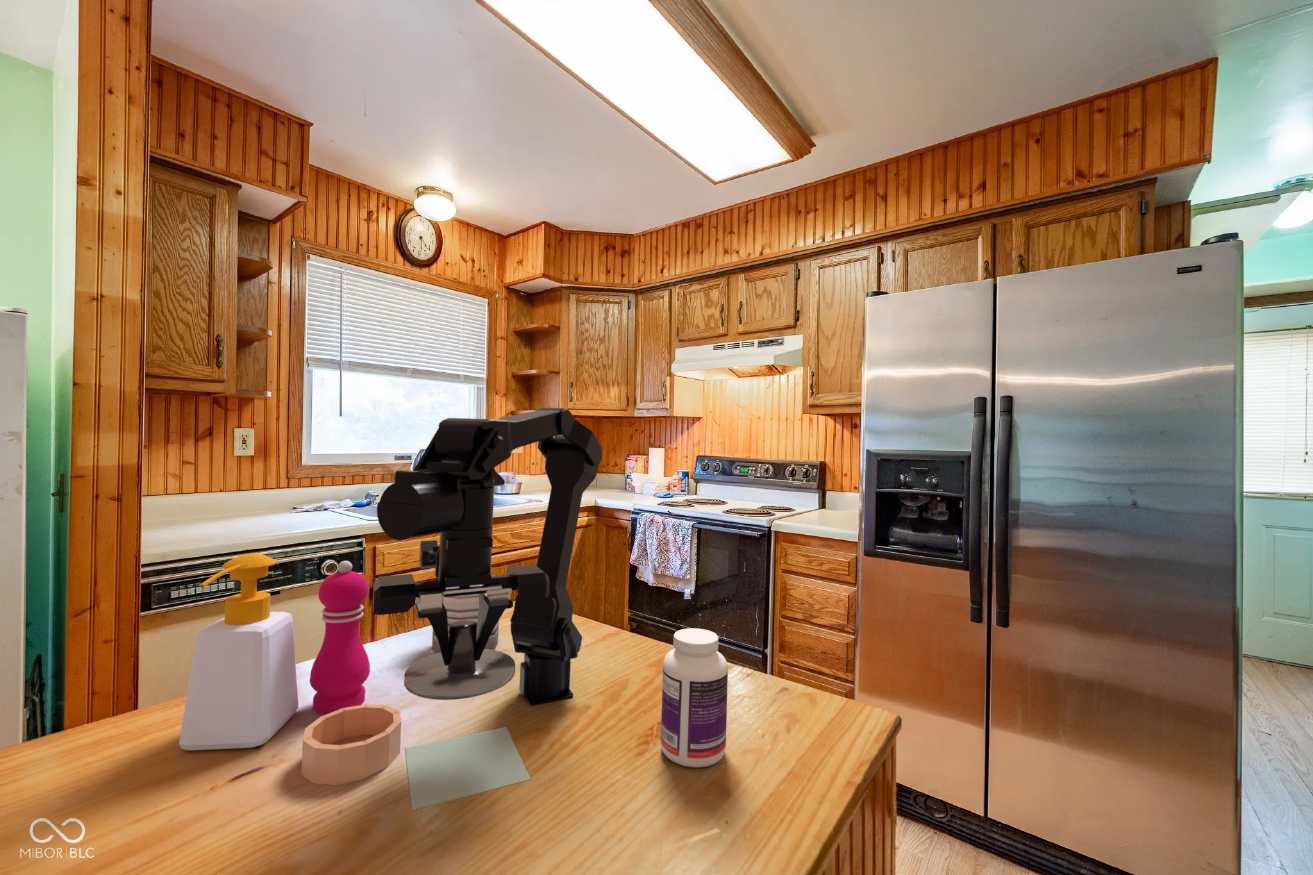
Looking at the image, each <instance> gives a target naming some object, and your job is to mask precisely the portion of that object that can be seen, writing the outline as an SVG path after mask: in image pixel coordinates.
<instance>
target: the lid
mask: <svg viewBox="0 0 1313 875" xmlns="http://www.w3.org/2000/svg"><path fill="white" fill-rule="evenodd" d="M476 635H477V623H476V622H474V621H469V620H464V621H457V622H453V623H451V624H450V625H449V651H450V656H449V665H446V666H445V664H444V661H443V658H442V655H441V652H440V653H436V654H434V653H432V654H429V655H427V656H424V657H422V658H421V659H418V660H416V661H415V662H412V664H410V665H409V666H408V667H407V669H406V670H405V672H404V677H403V686H404V688H405V689H406V690H407V692H409V693H410V694H412V695H414V696H417V697H419V698H424V699H429V700H439V701H440V700H441V701H449V700H450V701H451V700H463V699H470V698H474V697H475V698H476V697H478V696H482V695H486V694H489V693H492V692H494V691H497V690H498V689H501V688H503V687H504V686H506V685H507V684H508V683H510V681H512V680H513V678H514V676H515V673H516V661H515V659H514V658H513V657H511V656H510V655H509V654H507V653H505V652H502V651H499V650H497V649H495V650H491V649H484V651H483V653H482V655H481V657H480V660H479V661H475V660H476Z"/></svg>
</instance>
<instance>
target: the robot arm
mask: <svg viewBox="0 0 1313 875" xmlns="http://www.w3.org/2000/svg"><path fill="white" fill-rule="evenodd" d="M537 442H538V444H537V449H538V450H539V452H540V453H541V454H542V456H543V457H544V459H545V463H544V471H545V474H546V476H547V478H548V481H549V483H550V487H551V488H550V494H549V497H548V498H549V499H548V503H547V509H546V513H545V518H544V524H543V528H542V529H543V530H542V535H541V540H540V545H539V550H538V555H537V561H536V563H535V564H523V565H514V566H513V565H511V566H507V568H506V571H505V574H501V575H500V574H499V575H494V576H492V575H493V574H492V554H493V552H492V549H493V545H494V538H493V522H494V499H495V498H494V496H495V495H494V494H495V487H499V486H504V485H505V483H506V482H505V478H503V477H502V475H500V474H499V472H497V471H496V469H495V468H497V467H499V465H501V464H502V463H504V462H506V461H507V460H509V459H510V458H511V456H512V452H513V451H514V450H516V449H519V448H521V447H525V446H528V445H531V444H534V443H537ZM602 448H603V447H602V446H601V443H600V442H599V441H598V438H597V437H596V435H595V434H594V432H593V431H592V430H591V429H590V428H588V427H587V426H585V425H584V424H582V423H581V422H580V421H578V420H577V419H575V416H574V415H573V414H572V412H571V411H570V410H569V409H566V408H563V407H540V408H537V409H535V410H533V411H529V412H528V411H527V412H522V413H519V414H514V415H509V416H504V417H500V418H497V419H495V418H470V417H469V418H468V417H467V418H465V417H464V418H461V417H457V418H456V417H447V418H446V419H443V420H441V422H439V423H438V429H437V430H436V432H435V433H434V435H433V437H432V438H431V439H430V442H429V444H428V445H427V447H426V448H425V450H424V451H423V453H422V455H421V457H420V459H419V460H418V462H417V463H416V465H415V466H414V468H413V470H395V473H394V482H393V483H391V484H390V485H388V486H387V487H386V489H385V490H384V491H383V492H382V494H381V497H380V498H379V502H378V503H377V504H376V505H377V506H376V516H377V520H378V524H379V526H380V527H381V530H382V531H383V533H384V534H386V535H387V536H388V537H389V538H390V539H393V540H395V541H404V540H409V539H416V538H421V537H424V536H429V535H434V534H438V533H439V545H438V541H437V540H421V541H420V544H419V569H421V570H423V569H434V576H435V578H437V579H438V580H428V581H417V582H416V581H415V578H414V576H413V574H412V573H409V574H395V575H384V576H383V575H382V576H378V577H377V578H376V580H374V582H373V586H372V590H373V591H372V610H373V611H372V612H373V615H377V616H383V615H392V614H393V615H394V614H402V613H407V612H409V611H410V610H411V609H412V608H413V607H414V610H415V613H416V617H417V618H418V619H428V622H429V624H430V626H431V627H432V628H431V629H432V631H433V630H434V632H435V634H436V638H437V641H438V644H439V648H440V651H441V655H442V658H443V661H444V664H445V666H446V665H449V656H450V651H449V635H448V620H447V610H446V608H445V606H444V604H443V601H444V597H452V596H462V595H472V594H479V613H478V621H477V635H476V660H475V661H479V660H480V657H481V655H482V653H483V651H484V648H485V646H486V644H487V642H488V640H489V637H490V635H491V633H492V631H493V629H494V627H495V626H496V624H497V622H498V621H499V622H500V619H501V618H502V615H503V614H504V612H506V611H505V610H509V609H513V612H512V615H511V618H510V620H509V622H510V634H511V638H512V643H513V648H514V652H515V653H517V654H524V656H523V657H524V658H523V659H524V660H523V661H522V662H520V666H519V667H520V668H519V691H520V693H521V695H522V696H523V697H524V698H525V700H526V702H527V703H528V705H529V706H530V707H533V706H539V705H543V704H549V703H554V702H555V703H556V702H559V701H565V700H568V699H573V698H574V692H572V690H571V689H570V688H571V687H570V686H571V663H572V661H571V660H573V659H577V658H578V655H579V652H580V651H581V647H582V641H583V635H582V634H581V633H580V631H579V630H578V628H577V626H576V625H575V623H574V622H573V612H574V606H573V602H572V600H571V597H570V595H569V592H568V589H567V584H568V583H567V582H568V577H569V572H570V571H569V570H570V566H571V560H572V556H573V555H572V554H573V548H574V542H575V538H576V532H577V528H578V520H579V516H580V510H581V503H582V498H583V494H584V492H585V491H587V489H588V487H589V486H590V485H591V484H592V483H593V482H594V480H596V477H597V473H598V470H599V465H600V464H601V462H602V459H603V449H602ZM472 585H482V586H475V587H470V586H472ZM448 587H449V588H451V587H459V588H453V589H446V588H448ZM513 591H516V593H517V595H516V597H515V598H514V602H513V600H512V599H511V595H512V592H513ZM513 607H514V608H513Z"/></svg>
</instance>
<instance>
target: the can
mask: <svg viewBox="0 0 1313 875" xmlns="http://www.w3.org/2000/svg"><path fill="white" fill-rule="evenodd" d="M491 575H492V576H495V575H494V574H491ZM475 586H482V585H472V586H470V587H475ZM453 588H459V587H451V588H449V587H448V588H446V589H453ZM443 604H444V606H445V608H446V610H447V620H448V635H449V625H450V624H451V623H453V622H457V621H464V620H469V621H474V622H476V623H477V621H478V613H479V594H472V595H462V596H452V597H444V601H443ZM499 626H500V620H499V621H498V622H497V624H496V626H495V627H494V629H493V631H492V633H491V635H490V637H489V640H488V642H487V644H486V646H485V648H484V649H491V650H497V647H498V645H499V630H500V629H499V628H500V627H499ZM431 635H432V636H431V637H432V638H431V652H433V653H432V654H436V653H440V652H441V651H440V648H439V644H438V641H437V638H436V634H435V632H434V630H433V629H432V634H431Z"/></svg>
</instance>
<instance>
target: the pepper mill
mask: <svg viewBox="0 0 1313 875" xmlns="http://www.w3.org/2000/svg"><path fill="white" fill-rule="evenodd" d="M352 569H353V564H352V562H350V561H349V560H343V561H340V562H339V564H338V565H337V571H338V572H335V573H332V574H330V575H328V576H327V577H326V578H325V579H323V581H322V582H321V584H320V585H319V586H320V587H319V588H318V600H319V602H320V603H321V605H323V606H324V608H323V609H322V610H321V613H322V616H321V620H322V621H323V622H324V623H325V624H324V627H325V628H324V629H325V630H324V638H323V640H322V641H323V642H322V644H321V646H320V650H319V652H318V654H317V655H316V658H315V659H314V662H313V664H312V667H311V669H310V674H309V676H310V677H309V684H310V686H311V688H312V689H313V690H314V691H315V692H316V693H314V695H313V698H312V711H313V712H314V713H315V714H318V715H321V716H324V715H327V714H329V713H332V712H334V711H337V710H339V709H342V708H347V707H352V706H358V705H364V702H365V701H366V687H365V686H364V685H363V684H364V683H365V682H366V681H367V679H368V678H369V676H370V674H371V673H370V672H371V664H370V659H369V656H368V653H367V651H366V649H365V647H364V644H363V642H362V638H361V635H360V620H361V618H362V617H363V616H364V612H363V610H364V609H365V607H364V605H363V604H362V603H363V602H364V600H366V598H367V597H368V595H369V583H368V581H367V578H366V577H365V576H364V575H363V574H362V573H359V572H357V571H353V570H352Z"/></svg>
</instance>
